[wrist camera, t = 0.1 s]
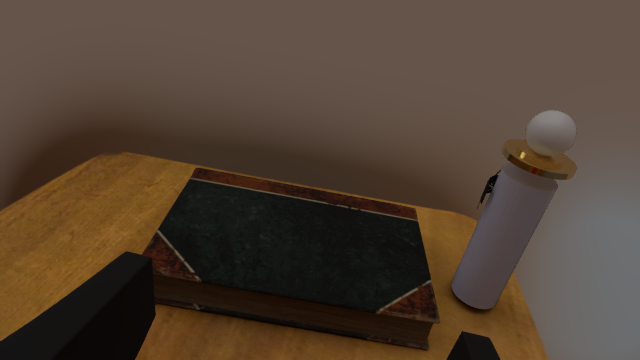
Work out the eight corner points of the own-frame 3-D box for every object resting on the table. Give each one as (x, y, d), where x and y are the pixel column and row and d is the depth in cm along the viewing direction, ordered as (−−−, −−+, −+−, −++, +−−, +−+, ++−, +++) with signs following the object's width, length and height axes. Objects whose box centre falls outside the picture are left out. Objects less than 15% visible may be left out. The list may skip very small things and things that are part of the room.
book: (132, 300, 37) (428, 352, 38) (131, 267, 35) (441, 322, 36) (196, 190, 52) (406, 229, 53) (197, 163, 50) (415, 204, 51)
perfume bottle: (511, 305, 45) (612, 122, 35) (479, 328, 41) (581, 132, 31) (464, 269, 48) (543, 94, 38) (431, 288, 45) (509, 101, 35)
